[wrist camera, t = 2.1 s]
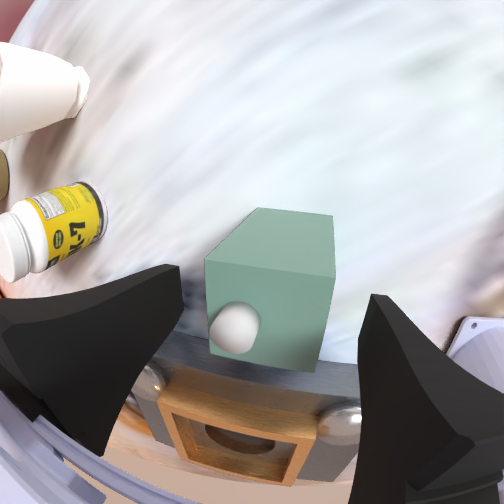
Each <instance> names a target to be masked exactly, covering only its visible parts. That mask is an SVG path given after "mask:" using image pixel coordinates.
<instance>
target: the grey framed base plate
mask: <svg viewBox="0 0 504 504" xmlns="http://www.w3.org/2000/svg"><path fill="white" fill-rule="evenodd" d="M131 391H132V392H133V394H134V396H135V398H136V401H137V403H138V405H139V407H140V409H141V412H142V414H143V416H144V418H145V420H146V422H147V424H148V426H149V428H150V430H151V432H152V434H153V436H154V438H155V440H156V441H159V442H161V443H164V444H166V445H169V446H171V447H174V448H176V450H177V452H178V454H179V456H180V459H181V460H184V461H187V462H190V463H193V464H196V465H199V466H202V467H205V468H208V469H211V470H215V471H218V472H222V473H225V474H229V475H233V476H237V477H241V478H245V479H250V480H255V481H259V482H265V483H270V484H276V485H282V486H289V487H291V486H292V484H293V483H294V481H295V479H296V478H297V479H305V480H315V481H327V482H333V481H334V480H335V479H336V478H337V477H338V476H339V474H340V473H341V472H342V471H343V470H344V469H345V467H346V466H347V465H348V464H349V462H350V461H351V460H352V459H353V458H354V456H355V455H356V454H357V452H358V450H359V442H360V431H361V400H360V387H359V375H358V365H354V364H344V363H335V362H327V361H319V360H318V361H317V365H316V369H315V372H314V373H309V372H302V371H295V370H289V369H283V368H277V367H271V366H266V365H261V364H256V363H251V362H246V361H241V360H236V359H232V358H228V357H223V356H219V355H215V354H211V353H210V343H209V340H206V339H202V338H198V337H194V336H190V335H186V334H182V333H178V332H175V331H172V332H171V333H170V334H169V336H168V337H167V338H166V340H165V341H164V342H163V344H162V345H161V346H160V348H159V349H158V350H157V352H156V353H155V354H154V355H153V357H152V358H151V359H150V361H149V362H148V363H147V365H146V366H145V367H144V369H143V370H142V372H141V373H140V375H139V376H138V378H137V380H136V382H135V384H134V385H133V387H132V389H131Z"/></svg>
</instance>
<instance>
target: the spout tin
mask: <svg viewBox="0 0 504 504" xmlns="http://www.w3.org/2000/svg"><path fill="white" fill-rule="evenodd" d="M204 266H205V286H206V303H207V317H208V331H209V343H210V353H211V354H215V355H219V356H223V357H228V358H232V359H236V360H241V361H246V362H251V363H256V364H261V365H266V366H271V367H277V368H283V369H289V370H295V371H302V372H309V373H314V372H315V369H316V365H317V361H318V357H319V353H320V349H321V345H322V341H323V336H324V332H325V328H326V323H327V319H328V314H329V309H330V305H331V300H332V295H333V289H334V284H335V279H336V271H335V246H334V228H333V216H331V215H323V214H314V213H306V212H297V211H288V210H278V209H269V208H257V209H255V210H254V211H253V212H252V213H251V214H250V215H249V216H248V217H247V218H246V219H245V220H244V221H243V222H242V223H241V224H240V225H239V226H238V227H237V228H236V229H235V230H234V231H233V232H232V233H230V234H229V235H228V236H227V237H226V238H225V239H224V240H223V241H222V242H221V243H220V244H219V245H218V246H217V247H216V248H215V249H214V250H213V251H212V252H211V253H210V254H209V255H208V256H207V257H206V258H205V259H204Z"/></svg>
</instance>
